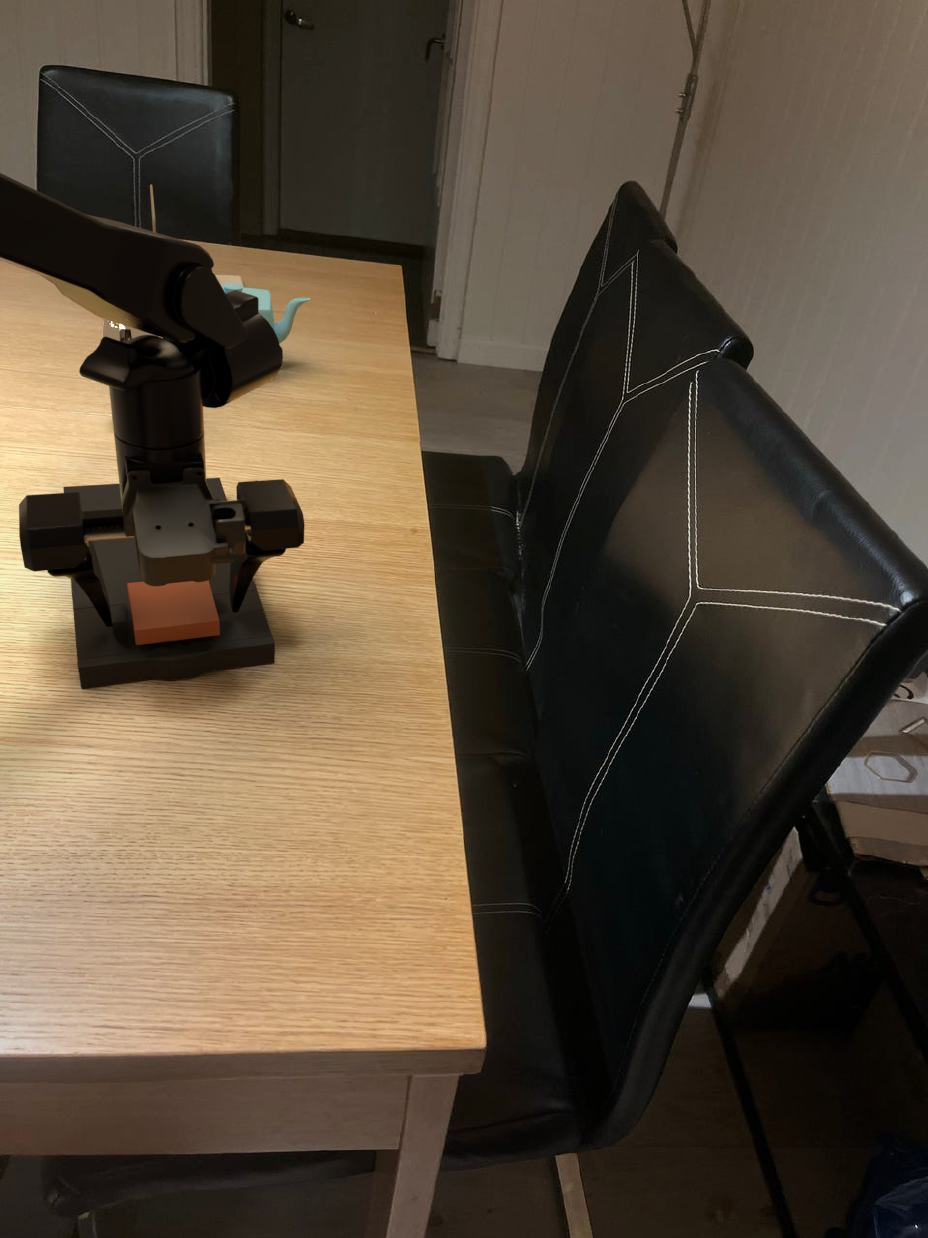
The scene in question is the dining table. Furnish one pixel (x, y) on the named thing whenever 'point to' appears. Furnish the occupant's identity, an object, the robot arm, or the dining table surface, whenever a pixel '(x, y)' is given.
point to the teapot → (266, 309)
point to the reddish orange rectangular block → (172, 612)
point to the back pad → (121, 660)
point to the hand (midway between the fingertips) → (173, 616)
